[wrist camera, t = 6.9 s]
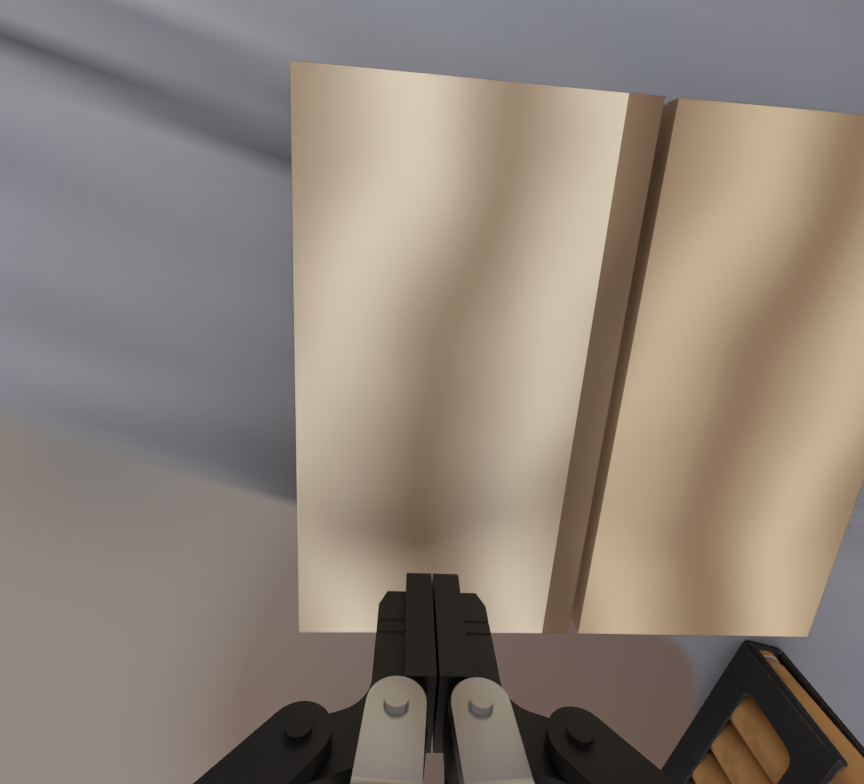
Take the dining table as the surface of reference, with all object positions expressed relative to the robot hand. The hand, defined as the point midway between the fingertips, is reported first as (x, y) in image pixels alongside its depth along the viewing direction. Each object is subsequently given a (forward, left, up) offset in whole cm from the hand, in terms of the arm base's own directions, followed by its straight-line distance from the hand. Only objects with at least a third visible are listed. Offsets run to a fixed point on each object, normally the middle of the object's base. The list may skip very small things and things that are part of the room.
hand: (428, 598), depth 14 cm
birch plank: (-1, -5, -4) cm, 7 cm away
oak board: (-11, -5, -5) cm, 13 cm away
